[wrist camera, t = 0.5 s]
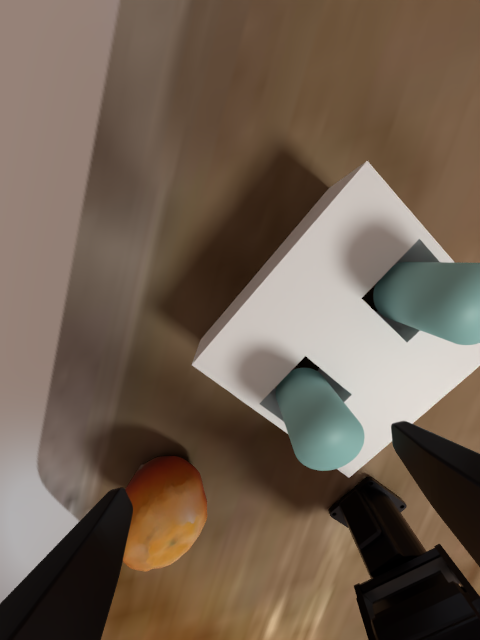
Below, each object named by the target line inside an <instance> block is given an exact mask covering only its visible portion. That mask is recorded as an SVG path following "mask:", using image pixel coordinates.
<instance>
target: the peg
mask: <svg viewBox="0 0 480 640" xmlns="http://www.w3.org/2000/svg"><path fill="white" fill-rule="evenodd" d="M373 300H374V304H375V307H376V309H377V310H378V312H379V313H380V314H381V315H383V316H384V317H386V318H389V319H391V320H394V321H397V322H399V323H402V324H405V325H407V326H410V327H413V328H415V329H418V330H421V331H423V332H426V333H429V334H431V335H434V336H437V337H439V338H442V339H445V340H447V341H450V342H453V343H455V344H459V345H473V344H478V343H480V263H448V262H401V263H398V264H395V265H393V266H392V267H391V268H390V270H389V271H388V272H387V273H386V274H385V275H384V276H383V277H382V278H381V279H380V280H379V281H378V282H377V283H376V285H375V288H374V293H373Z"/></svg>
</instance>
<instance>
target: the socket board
mask: <svg viewBox="0 0 480 640" xmlns="http://www.w3.org/2000/svg"><path fill="white" fill-rule="evenodd" d="M401 262H448V263H455V262H454V261H453V260H452V259H451V258H450V257H449V255H448V254H447V253H446V252H445V251H444V250H443V248H442V247H441V246H440V245H439V244H438V243H437V241H436V240H435V239H434V238H433V237H432V236H431V235H430V233H429V232H428V231H427V230H426V229H425V228H424V226H423V225H422V224H421V223H420V222H419V221H418V219H417V218H416V217H415V216H414V215H413V214H412V212H411V211H410V210H409V209H408V208H407V207H406V205H405V204H404V203H403V202H402V201H401V200H400V198H399V197H398V196H397V195H396V194H395V193H394V191H393V190H392V189H391V188H390V187H389V186H388V184H387V183H386V182H385V181H384V180H383V179H382V177H381V176H380V175H379V174H378V173H377V172H376V170H375V169H374V168H373V167H372V166H371V165H370V163H369V162H368V161H366V162H365V163H363V164H362V165H360V166H359V167H358V168H356V169H355V170H353V171H352V172H351V173H349V174H348V175H346V176H345V177H344V178H342V179H341V180H339V181H338V182H337V183H335V184H334V185H332V186H331V187H330V188H329V189H328V190H327V191H326V192H325V193H324V195H323V196H322V197H321V198H320V199H319V200H318V202H317V203H316V204H315V205H314V206H313V208H312V209H311V210H310V211H309V212H308V213H307V215H306V216H305V217H304V218H303V219H302V221H301V222H300V223H299V224H298V225H297V226H296V228H295V229H294V230H293V231H292V232H291V234H290V235H289V236H288V237H287V238H286V239H285V241H284V242H283V243H282V244H281V245H280V246H279V248H278V249H277V250H276V251H275V252H274V254H273V255H272V256H271V257H270V258H269V259H268V261H267V262H266V263H265V264H264V265H263V267H262V268H261V269H260V270H259V271H258V272H257V274H256V275H255V276H254V277H253V278H252V280H251V281H250V282H249V283H248V284H247V285H246V287H245V288H244V289H243V290H242V291H241V293H240V294H239V295H238V296H237V297H236V298H235V300H234V301H233V302H232V303H231V304H230V306H229V307H228V308H227V309H226V310H225V311H224V313H223V314H222V315H221V316H220V317H219V318H218V320H217V321H216V322H215V323H214V324H213V326H212V327H211V328H210V329H209V330H208V331H207V333H206V334H205V335H204V336H203V337H202V339H201V340H200V343H199V346H198V348H197V351H196V354H195V357H194V360H193V362H192V365H193V366H194V367H195V368H197V369H198V370H200V371H201V372H202V373H204V374H205V375H206V376H208V377H209V378H211V379H212V380H213V381H215V382H216V383H218V384H219V385H220V386H222V387H223V388H225V389H226V390H227V391H229V392H230V393H232V394H233V395H234V396H236V397H237V398H238V399H240V400H241V401H243V402H244V403H245V404H247V405H248V406H250V407H251V408H252V409H254V410H255V411H257V412H258V413H259V414H261V415H262V416H264V417H265V418H266V419H268V420H269V421H271V422H272V423H273V424H275V425H276V426H277V427H279V428H280V429H282V430H283V431H284V432H286V433H287V434H288V432H287V429H286V426H285V423H284V420H283V417H282V414H281V411H280V408H279V405H278V402H277V399H276V388H275V387H276V386H277V385H278V384H279V383H280V382H281V381H282V380H283V379H284V378H285V377H286V376H287V375H288V374H289V373H290V371H291V370H292V369H293V368H294V367H295V366H296V365H297V364H298V363H299V362H300V361H301V360H302V359H303V358H304V357H305V356H306V357H307V358H308V359H310V360H311V361H312V362H313V363H314V364H316V365H317V366H318V367H319V368H320V369H319V370H318V372H319V373H320V374H321V375H322V376H323V377H324V378H325V379H326V381H327V382H328V383H329V384H330V386H331V387H332V388H333V389H334V391H335V392H336V393H337V394H338V396H339V397H340V398H341V399H342V401H343V402H344V403H345V404H346V406H347V407H348V408H349V409H350V411H351V412H352V413H353V414H354V416H355V417H356V418H357V420H358V421H359V422H360V423H361V425H362V427H363V430H364V437H365V438H364V444H363V447H362V449H361V451H360V452H359V454H358V455H357V456H356V457H355V458H354V459H353V460H352V461H351V462H350V463H348V464H346V465H345V466H343V467H340V468H338V469H337V470H339V471H340V472H342V473H343V474H344V475H346V476H347V477H349V478H350V477H351V476H352V475H353V474H354V473H355V472H357V471H358V470H359V469H360V468H361V467H362V466H364V465H365V464H366V463H367V462H368V461H369V460H371V459H372V458H373V457H374V456H375V455H376V454H378V453H379V452H380V451H381V450H382V449H383V448H385V447H386V446H387V445H388V444H389V443H390V442H392V433H391V425H392V423H395V422H400V421H407V422H409V423H411V424H412V423H414V422H415V421H416V420H417V419H418V418H419V417H421V416H422V415H423V414H424V413H425V412H426V411H428V410H429V409H430V408H431V407H432V406H433V405H435V404H436V403H437V402H438V401H439V400H440V399H442V398H443V397H444V396H445V395H446V394H447V393H449V392H450V391H451V390H452V389H453V388H454V387H456V386H457V385H458V384H459V383H460V382H461V381H463V380H464V379H465V378H466V377H467V376H468V375H470V374H471V373H472V372H473V371H474V370H475V369H477V368H478V367H479V366H480V343H478V344H473V345H459V344H455V343H453V342H450V341H447V340H445V339H442V338H439V337H437V336H434V335H431V334H429V333H426V332H423V331H421V330H418V329H415V328H413V327H410V326H407V325H405V324H402V323H399V322H397V321H394V320H391V319H389V318H386V317H384V316H383V315H381V314H380V313H379V312H378V311H377V312H375V311H374V310H373V309H372V308H371V307H370V306H369V305H368V304H367V303H366V302H365V301H364V300H363V299H362V297H363V296H364V295H365V294H366V293H367V292H368V291H369V290H370V289H371V288H372V287H373V286H374V285H375V284H376V283H377V282H378V281H379V280H380V279H381V278H382V277H383V276H384V275H385V274H386V273H387V272H388V271H389V270H390V268H391V267H392V266H393V265H395V264H398V263H401Z"/></svg>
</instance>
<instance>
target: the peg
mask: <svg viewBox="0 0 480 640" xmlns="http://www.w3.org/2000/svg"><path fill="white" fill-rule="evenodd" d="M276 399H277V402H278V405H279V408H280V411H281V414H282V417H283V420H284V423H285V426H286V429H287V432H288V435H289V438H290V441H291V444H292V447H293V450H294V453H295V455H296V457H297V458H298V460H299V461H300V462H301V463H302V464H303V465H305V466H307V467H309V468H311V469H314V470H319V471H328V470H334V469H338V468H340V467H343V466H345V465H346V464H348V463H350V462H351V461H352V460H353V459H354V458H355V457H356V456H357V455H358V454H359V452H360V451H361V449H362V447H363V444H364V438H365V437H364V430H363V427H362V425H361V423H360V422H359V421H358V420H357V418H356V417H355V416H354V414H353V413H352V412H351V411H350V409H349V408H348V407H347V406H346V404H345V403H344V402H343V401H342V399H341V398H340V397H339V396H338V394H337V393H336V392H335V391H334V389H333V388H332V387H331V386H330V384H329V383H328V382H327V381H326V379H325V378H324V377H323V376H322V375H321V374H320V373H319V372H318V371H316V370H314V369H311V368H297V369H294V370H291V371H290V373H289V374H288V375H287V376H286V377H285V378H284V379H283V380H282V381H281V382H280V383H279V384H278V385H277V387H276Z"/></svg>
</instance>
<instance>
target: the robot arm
mask: <svg viewBox="0 0 480 640" xmlns="http://www.w3.org/2000/svg"><path fill="white" fill-rule="evenodd" d="M391 433H392V443H393V447H394V449H395V451H396V453H397V454H398V456H399V457H400V459H401V460H402V462H403V463H404V465H405V466H406V468H407V469H408V471H409V472H410V474H411V475H412V477H413V478H414V480H415V481H416V483H417V484H418V486H419V488H420V489H421V491H422V492H423V494H424V495H425V497H426V498H427V499H428V501H429V502H430V504H431V505H432V506H433V508H434V509H435V510H436V512H437V513H438V514H439V516H440V517H441V518H442V520H443V521H444V522H445V523H446V525H447V526H448V527H449V528H450V530H451V531H452V532H453V534H454V535H455V536H456V537H457V539H458V540H459V541H460V542H461V544H462V545H463V546H464V548H465V549H466V550H467V551H468V553H469V554H470V555H471V556H472V558H473V559H474V560H475V562H476V563H477V564H478V565H479V567H480V454H479V453H477V452H474V451H472V450H470V449H468V448H465V447H463V446H461V445H459V444H456V443H454V442H452V441H450V440H447V439H445V438H443V437H441V436H438V435H436V434H434V433H432V432H429V431H427V430H425V429H423V428H420V427H418V426H416V425H414V424H411V423H409V422H407V421H400V422H395V423H392V425H391ZM405 508H406V504H405V503H404V501H403V500H402V499H400V498H399V497H398V496H396V495H395V494H394V493H392V492H391V491H389V490H388V489H387V488H385V487H384V486H383V485H381V484H380V483H379V482H377V481H376V480H375V479H373V478H372V477H367V478H365V479H364V480H363V481H362V482H361V483H359V484H358V485H357V486H356V487H355V488H354V489H352V490H351V491H350V492H349V493H348V494H346V495H345V496H344V497H343V498H342V499H341V500H339V501H338V502H337V503H336V504H335V505H333V506H332V507H331V508H330V509H329V514H330V516H331V517H332V518H334V519H335V520H337V521H338V522H340V523H341V524H343V525H344V526H346V527H348V528H349V530H350V532H351V535H352V537H353V539H354V541H355V544H356V546H357V548H358V550H359V553H360V555H361V557H362V559H363V562H364V564H365V566H366V568H367V571H368V573H369V575H370V578H371V579H370V580H368V581H366V582H364V583H361V584H359V583H358V584H356V585H354V588H355V592H356V595H357V598H356V599H357V603H358V606H359V609H360V613H361V616H362V619H363V623H364V626H365V629H366V633H367V636H368V639H369V640H480V596H479V595H478V594H477V592H476V591H475V590H474V588H473V587H472V586H471V585H470V583H469V582H468V581H467V579H466V578H465V577H464V575H463V574H462V573H461V571H460V570H459V569H458V567H457V566H456V565H455V563H454V562H453V561H452V559H451V558H450V557H449V555H448V554H447V553H446V551H445V550H444V549H443V547H442V546H441V545H440V544H438V545H436V546H434V547H435V548H433V549H431V550H429V551H427V552H426V550H425V549H424V547H423V546H422V544H421V543H420V541H419V540H418V538H417V537H416V535H415V534H414V532H413V531H412V529H411V528H410V526H409V525H408V523H407V522H406V520H405V519H404V517H403V516H402V514H401V513H400V512H401V511H403V510H404V509H405ZM132 515H133V505H132V502H131V500H130V498H129V496H128V494H127V492H126V490H125V489H124V488H117V489H112V490H110V491H109V492H108V493H107V494H106V495H105V496H104V497H103V498H102V499H101V500H100V501H99V502H98V503H97V504H96V505H95V506H94V507H93V508H92V509H91V510H90V511H89V512H88V513H87V514H86V515H85V517H84V518H83V519H82V520H81V521H80V522H79V523H78V524H77V525H76V526H75V527H74V528H73V529H72V530H71V531H70V532H69V533H68V534H67V535H66V536H65V537H64V538H63V539H62V540H61V541H60V542H59V543H58V545H57V546H56V547H55V548H54V549H53V550H52V551H51V552H50V553H49V554H48V555H47V556H46V557H45V558H44V559H43V560H42V561H41V562H40V563H39V564H38V565H37V566H36V567H35V568H34V569H33V570H32V571H31V572H30V573H29V575H28V576H27V577H26V578H25V579H24V580H23V581H22V582H21V583H20V584H19V585H18V586H17V587H16V588H15V589H14V590H13V591H12V592H11V593H10V594H9V595H8V597H6V598H5V599H4V600H3V601H2V602H1V604H0V640H101V637H102V634H103V630H104V627H105V623H106V620H107V616H108V613H109V610H110V606H111V603H112V599H113V596H114V592H115V589H116V586H117V582H118V578H119V574H120V570H121V566H122V562H123V557H124V552H125V548H126V543H127V538H128V534H129V529H130V524H131V520H132ZM459 584H460V585H461V587H460V586H459Z"/></svg>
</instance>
